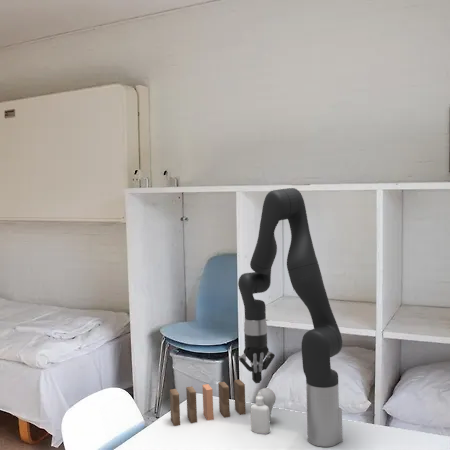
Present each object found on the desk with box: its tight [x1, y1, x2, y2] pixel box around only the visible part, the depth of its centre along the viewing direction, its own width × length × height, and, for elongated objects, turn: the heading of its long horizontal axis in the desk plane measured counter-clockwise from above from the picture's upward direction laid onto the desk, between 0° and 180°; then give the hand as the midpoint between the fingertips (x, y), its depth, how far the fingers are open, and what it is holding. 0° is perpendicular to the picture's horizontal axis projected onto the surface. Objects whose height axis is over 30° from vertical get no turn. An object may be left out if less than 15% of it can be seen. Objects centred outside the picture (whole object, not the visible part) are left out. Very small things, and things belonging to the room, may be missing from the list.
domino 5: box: [233, 379, 246, 416], centre depth 178 cm, size 2×5×10 cm, turn 18°
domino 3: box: [202, 383, 214, 421], centre depth 174 cm, size 2×5×10 cm, turn 18°
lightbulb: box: [255, 387, 277, 421], centre depth 169 cm, size 6×6×11 cm
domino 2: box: [185, 385, 198, 424], centre depth 173 cm, size 2×5×10 cm, turn 18°
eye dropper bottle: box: [250, 392, 271, 435], centre depth 163 cm, size 4×6×12 cm
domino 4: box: [218, 381, 231, 419], centre depth 176 cm, size 2×5×10 cm, turn 18°
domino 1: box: [169, 388, 181, 427], centre depth 171 cm, size 2×5×10 cm, turn 18°
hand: (257, 382), depth 179 cm, fingers closed
